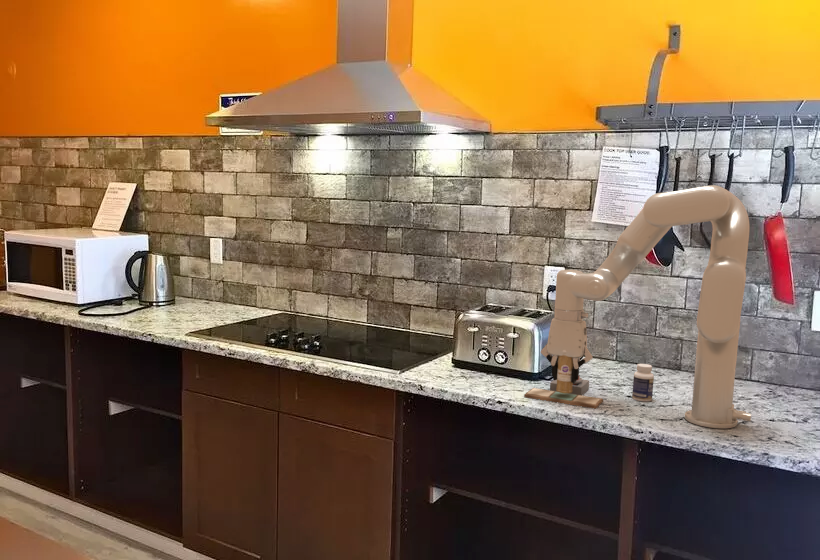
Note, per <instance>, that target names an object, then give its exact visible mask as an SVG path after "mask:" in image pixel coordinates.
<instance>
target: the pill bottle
mask: <svg viewBox="0 0 820 560" xmlns="http://www.w3.org/2000/svg"><path fill="white" fill-rule="evenodd" d="M652 370H653V365H651V364H648V363H637V365H636V371H635V372H634V374H633V382H632V395H631V397H632V399H633V400H635V401H639V402H651V401H653V393H654V392H653V391H654V380H655V377H654V376H655V375H654V374H653V373H652Z"/></svg>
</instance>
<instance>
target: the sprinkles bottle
mask: <svg viewBox="0 0 820 560" xmlns="http://www.w3.org/2000/svg"><path fill="white" fill-rule="evenodd" d="M562 352H566V350H563V351H562ZM565 354H566V353H565ZM573 366H574V364H573V358H571V357H568V356H566V355H565V356H564V355H562V356H558V371H557V388H556V391H557V392H560V393H571V392H572V391H573V390H572V385H573V383H572V382H571V377H572V369H573Z"/></svg>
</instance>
